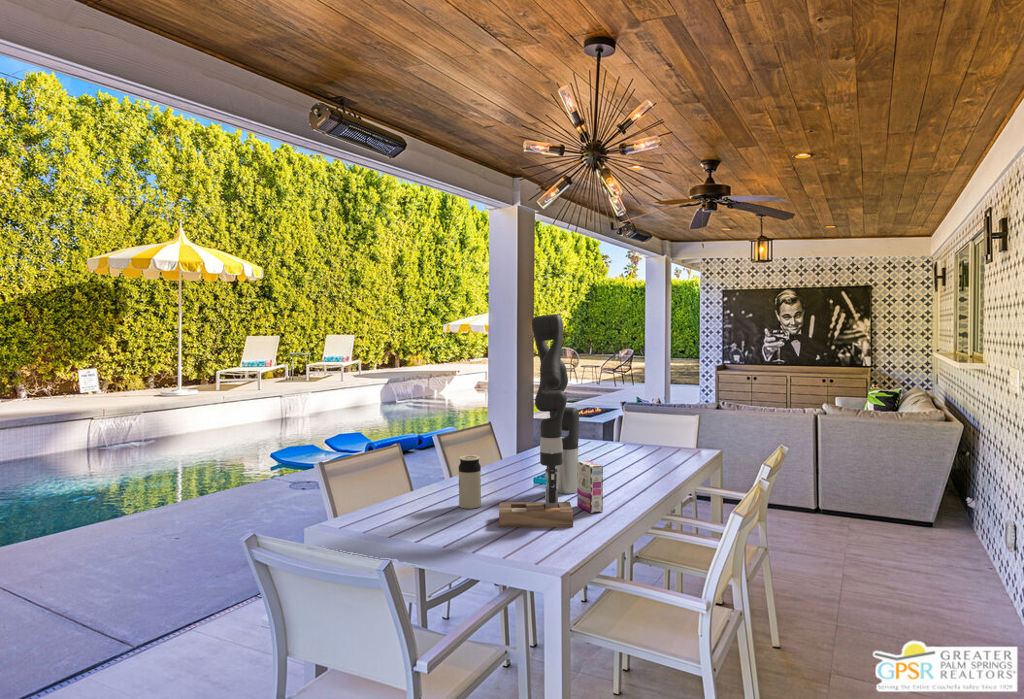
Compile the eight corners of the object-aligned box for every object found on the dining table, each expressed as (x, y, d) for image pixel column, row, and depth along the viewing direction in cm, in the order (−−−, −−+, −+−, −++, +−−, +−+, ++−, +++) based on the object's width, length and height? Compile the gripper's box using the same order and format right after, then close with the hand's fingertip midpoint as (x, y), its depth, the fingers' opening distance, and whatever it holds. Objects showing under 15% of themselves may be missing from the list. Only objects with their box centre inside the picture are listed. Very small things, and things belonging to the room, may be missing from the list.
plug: (545, 515, 222) (545, 486, 222) (556, 515, 222) (557, 486, 222) (545, 519, 218) (545, 489, 218) (557, 519, 218) (558, 489, 218)
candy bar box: (603, 512, 230) (603, 465, 229) (591, 513, 228) (590, 466, 228) (589, 504, 240) (588, 459, 240) (576, 505, 238) (576, 460, 238)
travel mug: (483, 504, 242) (483, 455, 241) (476, 510, 234) (476, 459, 234) (463, 502, 244) (462, 454, 243) (455, 508, 236) (455, 458, 236)
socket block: (499, 517, 225) (499, 501, 225) (569, 516, 225) (569, 500, 225) (499, 527, 213) (499, 511, 213) (573, 526, 213) (573, 510, 213)
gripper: (539, 446, 227) (539, 495, 227) (541, 454, 212) (541, 506, 213) (560, 446, 227) (561, 494, 227) (564, 454, 212) (564, 506, 213)
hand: (551, 500), depth 220 cm, fingers open, 5 cm apart
